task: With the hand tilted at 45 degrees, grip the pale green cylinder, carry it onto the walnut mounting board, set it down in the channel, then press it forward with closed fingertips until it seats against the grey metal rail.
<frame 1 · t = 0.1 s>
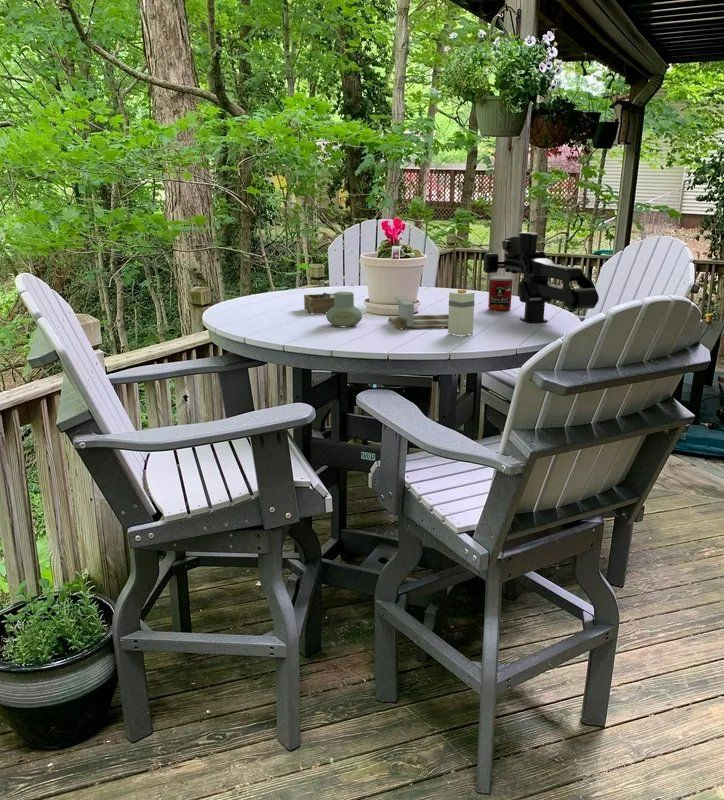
hand: (498, 260, 236), 17 cm above the table, tool horizontal, fingers open, 9 cm apart
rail: (403, 310, 211), point 4 cm above the table
eagle figurine: (326, 311, 236), on the table, touching brown wooden box
canned food: (499, 309, 238), on the table
board: (421, 323, 213), on the table
air freshener: (344, 326, 211), on the table
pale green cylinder: (460, 334, 198), on the table
brown wooden box: (326, 310, 236), on the table
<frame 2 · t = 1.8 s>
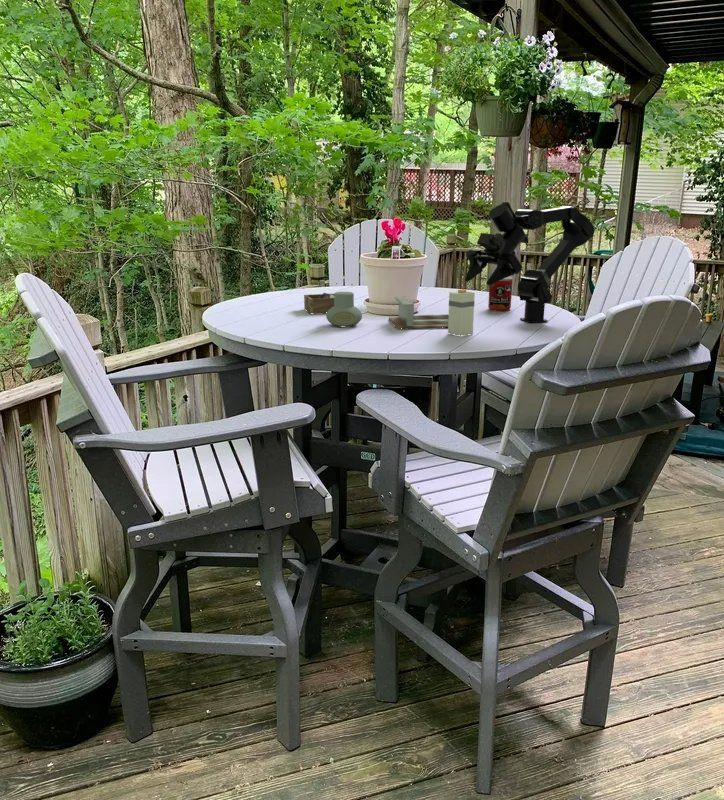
hand: (476, 282, 200), 14 cm above the table, tool tilted 45°, fingers open, 9 cm apart
nothing on the table moved.
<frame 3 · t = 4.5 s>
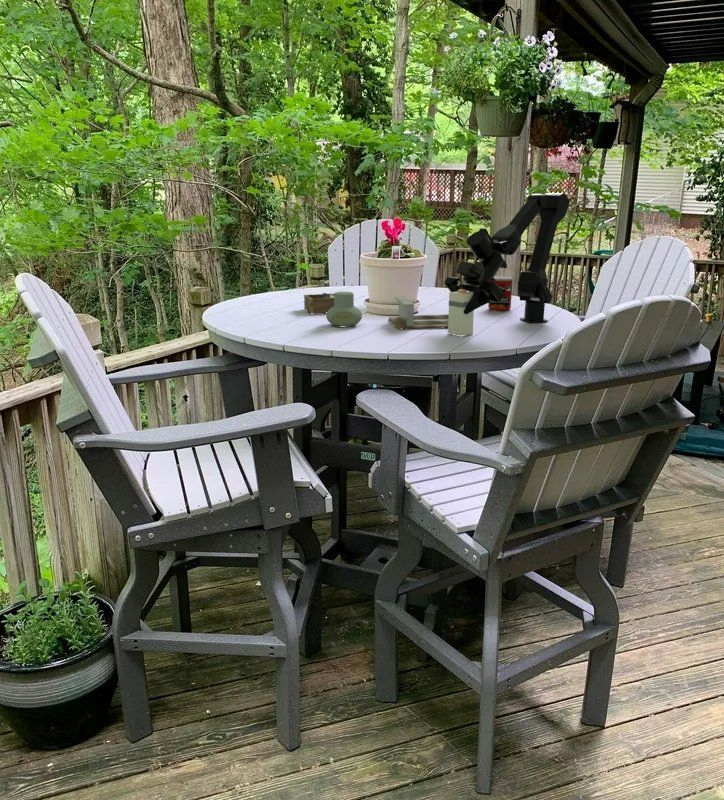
hand: (457, 312, 195), 7 cm above the table, tool tilted 45°, fingers closed on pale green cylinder, 5 cm apart
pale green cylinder: (460, 334, 198), on the table, touching gripper
everything else where it was.
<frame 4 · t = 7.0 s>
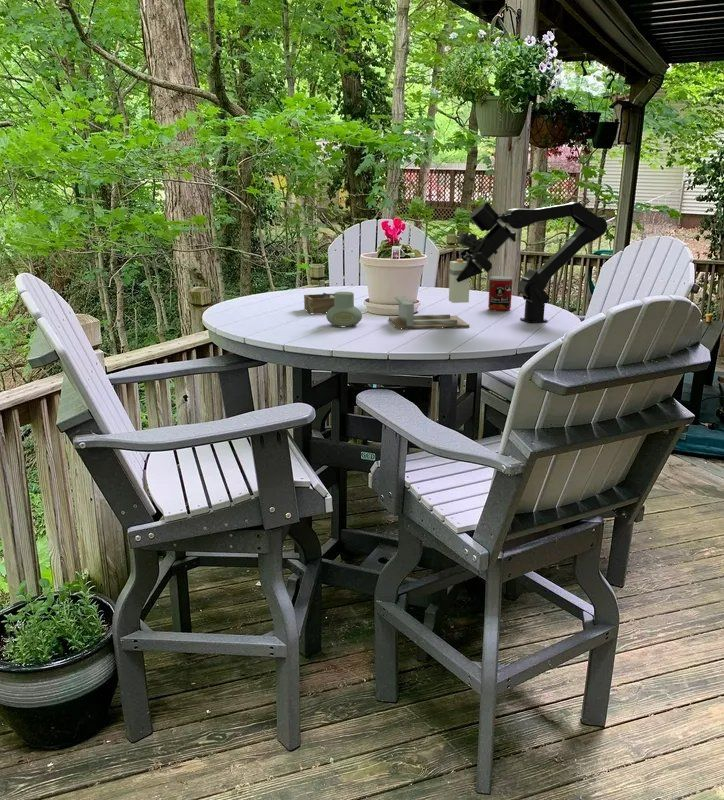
hand: (455, 279, 211), 13 cm above the table, tool tilted 45°, fingers closed on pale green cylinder, 5 cm apart
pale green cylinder: (458, 301, 213), point 7 cm above the table, touching gripper
everything else where it was.
when the fingers open (8 cm above the table, at t = 9.3 s): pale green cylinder stays where it is, resting on board.
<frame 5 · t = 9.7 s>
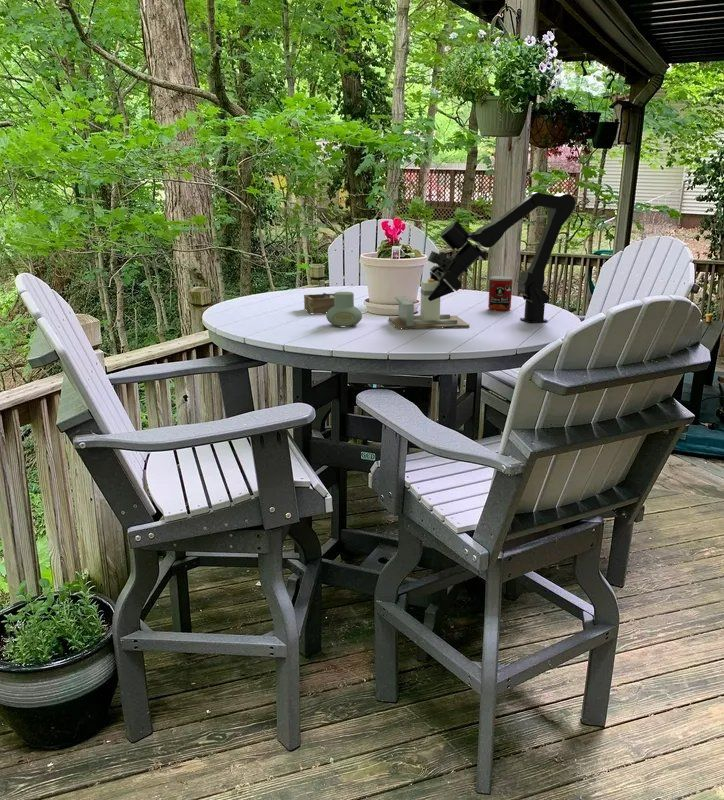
hand: (425, 297, 211), 8 cm above the table, tool tilted 45°, fingers open, 9 cm apart
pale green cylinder: (429, 320, 213), point 1 cm above the table, touching board
everything else where it was.
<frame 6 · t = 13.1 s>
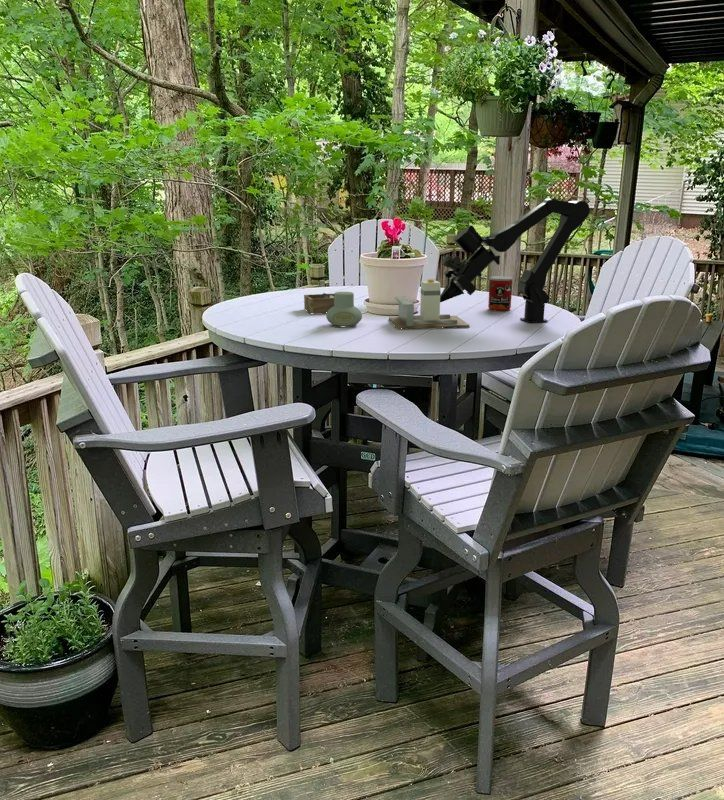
hand: (439, 301, 212), 7 cm above the table, tool tilted 45°, fingers closed, pressing on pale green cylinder
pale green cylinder: (429, 320, 213), point 1 cm above the table, touching board, gripper
everything else where it was.
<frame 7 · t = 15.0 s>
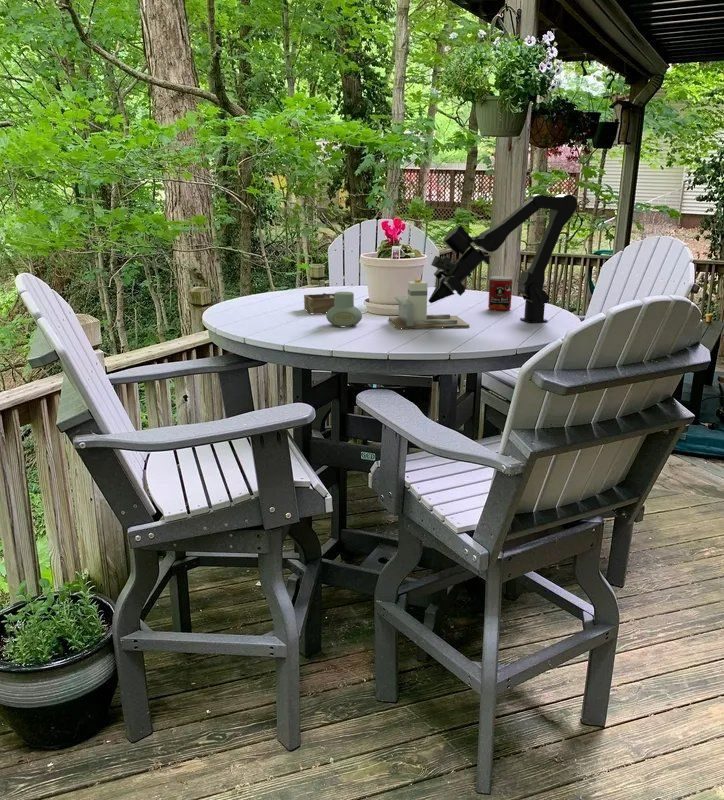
hand: (429, 302, 212), 7 cm above the table, tool tilted 45°, fingers closed
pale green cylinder: (416, 321, 213), point 1 cm above the table, touching board
everything else where it was.
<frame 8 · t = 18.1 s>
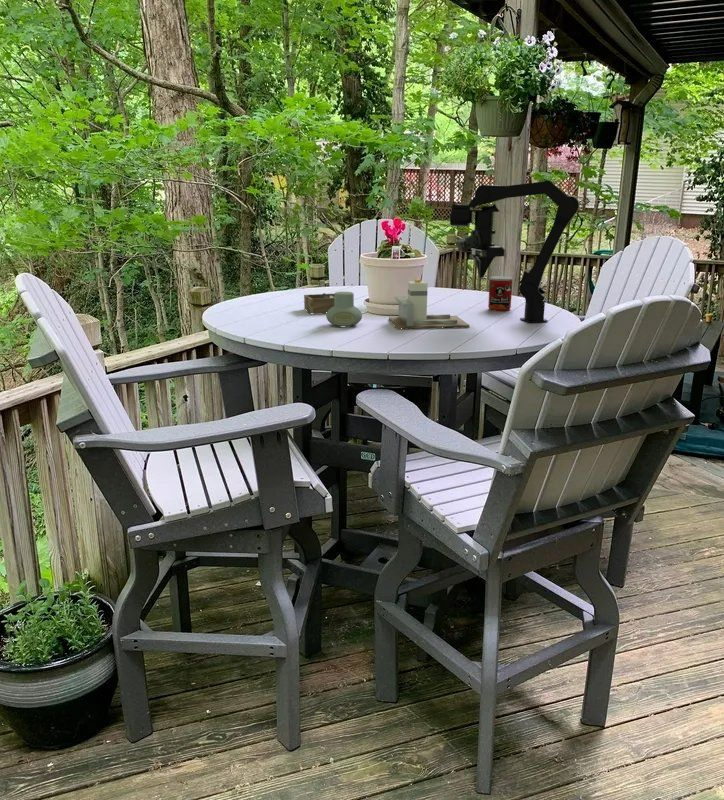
hand: (481, 277, 219), 13 cm above the table, tool pointing down, fingers closed
nothing on the table moved.
at the end: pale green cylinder 0.3 cm from the target spot on the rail, point 0.8 cm above the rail's base; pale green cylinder tilted 0°; the gripper is holding nothing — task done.
